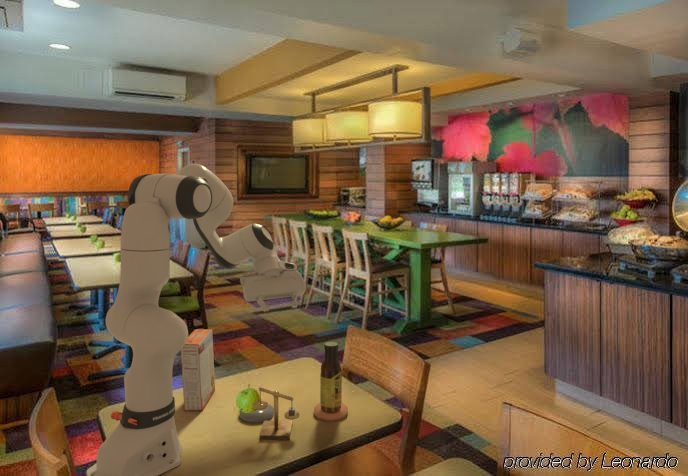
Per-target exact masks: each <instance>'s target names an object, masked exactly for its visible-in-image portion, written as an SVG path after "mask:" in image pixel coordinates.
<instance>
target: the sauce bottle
mask: <svg viewBox="0 0 688 476" xmlns="http://www.w3.org/2000/svg"><path fill="white" fill-rule="evenodd" d="M338 349H339V344H338V342H336V341H335V342H334V341H328V342H325V343H324V360H323V361H322V363H321V365H320V374H319V376H320V377H319V379H320V382H319V383H320V384H319V385H320V393H319V395H320V398H319V399H320V402H319V403H320V404H321V409H322V411H324V412H327V413H334V412H337V411H339V410H340V409H341V403H342V396H343V395H342V389H343V387H342V386H343V385H342V384H343V382H342V381H343V377H342V376H343V375H342V374H343V373H342V372H343V369H342V366H341V363H340V360H339V356H338V354H339V350H338Z"/></svg>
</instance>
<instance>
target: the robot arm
mask: <svg viewBox="0 0 688 476" xmlns="http://www.w3.org/2000/svg"><path fill="white" fill-rule="evenodd" d="M229 189H230V188H228V187H227V186H226V184H225V183H224V182H223V181H222V180H221V179H220V178H219V177H218V176H217V175H216V174H215V173H214V172H212V171H211V170H209V169H208V168H207V167H205V166H204V165H202V164H199V163H190V164H187V165H185V166H183V167H182V168H181V169H180V170H179V171H178V172H177V174H173V173H156V174H155V173H154V174H153V173H146V174H141V175H138V176H136V177H134V179H133V180H132V181H131V182H130V185H129V187H128V190H127V191H128V192H127V202H128V207H127V208H126V209H125V211H124V215H123V219H122V223H121V233H120V278H119V285H118V291H117V293H116V298H115V300H114V303H113V305H112V306H111V307H110V308H109V309H108V311H107V313H106V316H105V326H106V329H107V330H108V332H109V333H110V334H111V335H112V336H113V338H115V339H116V340H117V341H119V342H120V343H122V344H125V345H127V346H129V347H131V349H132V361H131V364H130V367H129V368H128V369H127V370H125V371H126V372H125V373H124V375H123V376H124V377H123V380H124V381H123V382H124V385H123V386H124V400H125V403H124V406H123V409H122V412H121V411H118V410H113V411H112V412H111V414H110V418H111V419H112V420H115V421H116V422H118V421H119V423H118V425H117V426H116V427H115V428H114V430H113V431H112V432H111V433H110V435H109V436H108V437H107V438H106V439H105V440H104V441H103V442H102V444H101V445H100V446H99V448H98V450H97V453H96V462H95V463H94V464H93V465H91V466H90V467H89V468H88V469H87V470H86V474H85V475H86V476H159V475H161V474H164V473H166V472H168V471H170V470H172V469H174V468H176V467H178V466H179V465H181V464H182V461H181V455H182V452H183V447H182V444H181V443H180V438H179V434H178V431H177V426H176V419H175V414H176V400H175V396H173V395H174V394H173V393H174V391H173V369H174V363H175V359H176V356H177V354H178V353H179V352H181V349H182V348H183V346H184V345H185V343H186V340H187V338H188V337H189V336H188V335H189V332H188V330H189V329H188V326H187V323H186V322H185V321H184V320H183V319H182V317H180V316H178V314H176V313H175V312H173V311H172V310H169V309H166V308H163V307H160V306H159V299H160V296H161V291H162V289H163V287H164V286H166V284H167V283H168V282H169V280H170V278H171V277H170V273H171V271H170V270H171V266H170V264H171V263H170V262H171V261H170V260H171V259H170V258H171V257H170V255H171V254H170V253H171V252H170V250H171V249H170V248H171V247H170V246H171V245H170V243H171V241H170V240H171V239H170V229H169V225H170V222H171V220H172V219H173V220H174V219H175V220H176V219H179V220H181V219H187V220H192V222H193V226H194V227H195V230H196V232H197V233H198V235H199V236H200V238H201V240H202V241H203V243H204V244H205V245H206V247H207V248H208V250H209V251H210V253H211V254H212V256H213V258H214V260H215V262H216V264H217V265H218V266H220V267H221V268H223V269H227V270H232V269H234V268H235V267H237V266H238V265H240V264H242V263H243V262H245V261H247V260H250V259H251V261H252V262H253V271H254V272H253V273H252V272H251V273H244V274H242V275H241V276H240V277H239V283H240V285H241V286H242V293H243V299H244V300H245V301H246V302H249V303H250V302H257V305H259V306H260V307H261V308H262V311H263V312H269V311H270V305H269V303H266V302H265V301H266V300H274V299H282V298H283V299H284V298H290V297H291V299H292V301H291V302H290V306H291V308H292V309H294V308H298V305H299V303H298V301H297V300H298V297H300V296H303V295H304V294H305V292H306V291H307V284H306V282H305V280H304V278H303V277H304V276H302V273H300V272H299V271H298V266H297V264H295V263H291V262H286V261H285V260H284V261H283V260H281V259H280V257H279V256H278V253H277V251H278V250H277V248H276V245H275V241H274V240H273V236H272V234H271V233H270V231H269V229H268V227H266V226H264V225H261V224H260V223H259V224H258V223H255V222H253V223H250V224H248V225H246V226H244V227H242V228H239V229H238V230H236V231H234V232H232V233H230V234H228V235H225V236H222V237H220V236H219V235H218V233H217V232H216V230H217V229H218V227H219V226H220V225H222V224H223V223H225V221H226V220H228V218H229V216H230V215H231V213H232V211H233V209H234V208H233V206H234V197H233V194H232V192H231V191H230V190H229Z"/></svg>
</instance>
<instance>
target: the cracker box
mask: <svg viewBox="0 0 688 476" xmlns="http://www.w3.org/2000/svg"><path fill="white" fill-rule="evenodd" d="M213 339H214V337H213V329H212V328H211V329H206V328H205V329H204V328H203V329H202V328H198V329H195V328H194V330H193V331H192V332H191V333H190V334H189V336H187V340H186V343H185V345H184V346H183V348H182V349H181V350H180V357H181V358H180V359H181V374H182V375H181V376H182V392H183V394H182V395H183V407H184V411H187V412H188V411H195V412H196V411H197V412H201V411H203V410H204V409H205V408H206V405H207V404H208V402H209V401H210V400H211V397H212V396H213V395H214V393H215V391H216V383H215V381H216V380H215V379H216V377H215V364H214V363H215V361H214V359H215V358H214V340H213Z"/></svg>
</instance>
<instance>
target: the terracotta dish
mask: <svg viewBox="0 0 688 476" xmlns="http://www.w3.org/2000/svg"><path fill="white" fill-rule="evenodd" d="M348 414H349V408H348V406H347V405H346V404H344V403H342V402H341V409H340V410H339V411H337V412H334V413H327V412H324V411H322V409H321V404H320V402H319V403H318V404H316V405H315V406H314V408H313V415H314V417H315V418H317V419H319V420H321V421H323V422H325V421H326V422H335V421H336V422H337V421H341V420H343V419H345V418H347V416H348Z"/></svg>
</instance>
